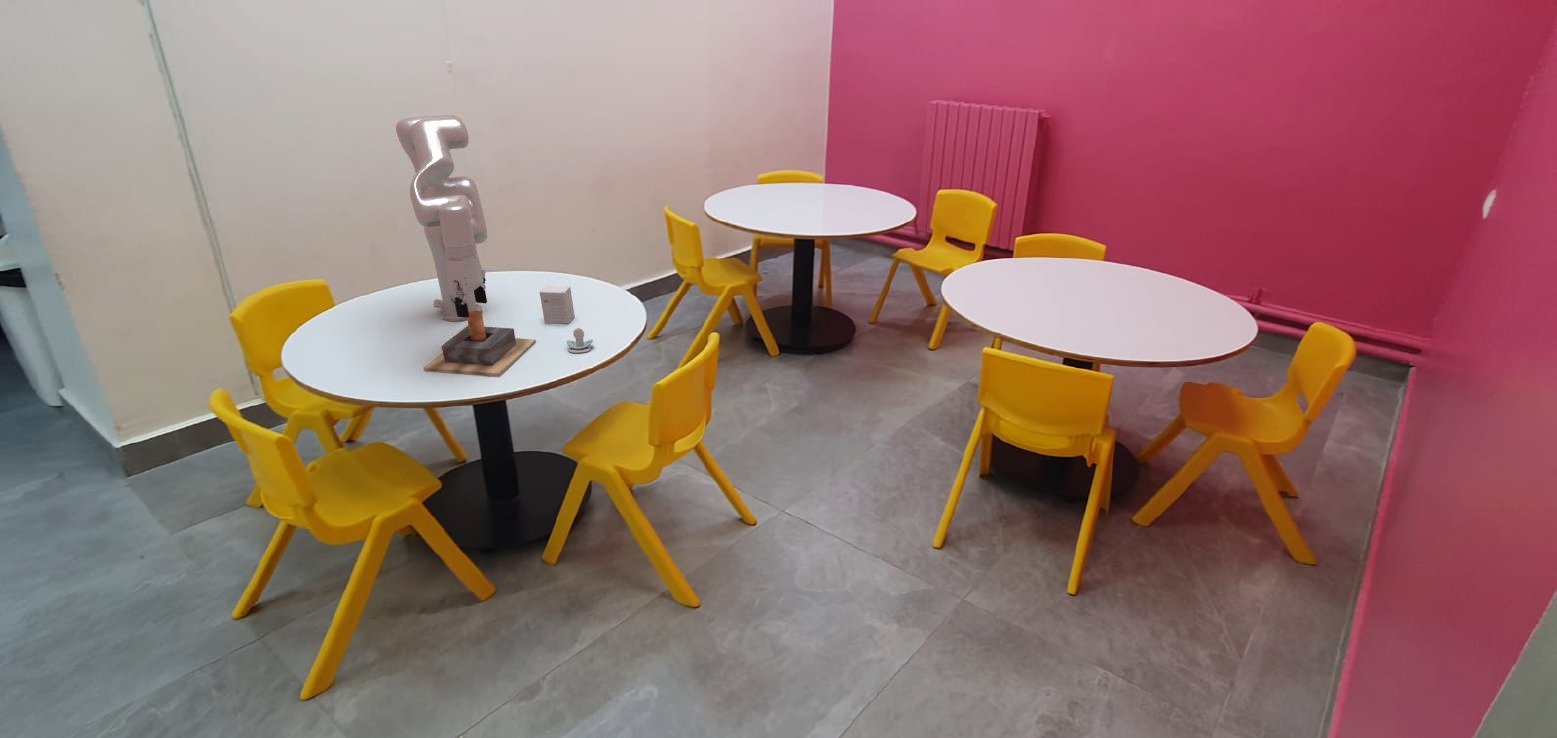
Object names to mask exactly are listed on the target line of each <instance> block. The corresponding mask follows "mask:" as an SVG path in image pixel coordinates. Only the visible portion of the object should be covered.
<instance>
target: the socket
mask: <svg viewBox="0 0 1557 738" xmlns="http://www.w3.org/2000/svg"><path fill="white" fill-rule="evenodd" d="M484 327H485V332H486V338H487V339H486V340H485V341H484V342H475V341H471V336H470V331H469V326H468V325H466V326H465V327H464V328H463V329H461V330H460V331H459V332H457V333H456V334H455V335H453V336H452V337H451V338H449V340H447V341H446V342H444V343H443V344H441V351H442V353H440V354H439V355H437V356H436V357H435V358H434V359H433V360H431V361H430V362H429V363H427V364H426V365H425V366H423V371H424V372H431V373H433V372H434V373H445V372H446V373H447V374H457V375H459V374H460V375H471V374H472V375H474V376H487V377H497V378H498V377H501V376H503V374H504V373H506V372H507V371H508V370H509V369H510V368H511V367H512V366H513V365H514V364H515V363H516V362H517V361H519V360H520V359H521V357H523V356H524V355H525V354H526V353H527V352H528V351H529V350H530V349H531V348H532V347H533V346H534V345H536V343H537V341H536V339H533V338H520V337H518V338H517V337H516V334H515V328H511V327H509V328H508V327H498V326H497V327H495V326H484Z"/></svg>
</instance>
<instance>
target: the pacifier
mask: <svg viewBox="0 0 1557 738" xmlns="http://www.w3.org/2000/svg"><path fill="white" fill-rule="evenodd" d="M572 334H573V338H575V341H574V340H572V339H571V340H566V345H567V346H568V347H569V348H568V349H567V351H568V352H570V353H572V354H582V353H583V354H584V353H588V352H590V351H591V350H592V348H591V347H590V345H592V343H593V341H594V340H593V339H588V340H586V341H584V337H585V331H584V330H583V329H582V328H581V327H580V328H579V327H577V328H575V329H574V330H573V333H572ZM572 349H573V350H572ZM574 349H575V350H574ZM584 349H585V350H584Z"/></svg>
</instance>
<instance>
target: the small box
mask: <svg viewBox="0 0 1557 738" xmlns="http://www.w3.org/2000/svg"><path fill="white" fill-rule="evenodd" d="M539 296H540V301H541V310H542V313H543V319H544V320H543V321H544V323H545V324H562V325H563V324H565V325H566V324H567V325H568V324H570V323H571V322H572V321H573V320H574V319H575V316H576V315H575V308H574V303H573V295H572V290H571V286H568V285H567V286H566V285H565V286H564V285H563V286H559V285H554V286H553V285H546V286H545V287H543V288H542V289H541V290H540V291H539Z"/></svg>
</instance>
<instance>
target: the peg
mask: <svg viewBox="0 0 1557 738" xmlns="http://www.w3.org/2000/svg"><path fill="white" fill-rule="evenodd" d="M466 322H467V326H469V331H470V336H471V341H475V342H484V341H485V340H486V339H487V338H486V332H485V327H486V326H485V323H484V318H483V311H482V312H481V311H471V312H469V317H468V318H467V320H466Z"/></svg>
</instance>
